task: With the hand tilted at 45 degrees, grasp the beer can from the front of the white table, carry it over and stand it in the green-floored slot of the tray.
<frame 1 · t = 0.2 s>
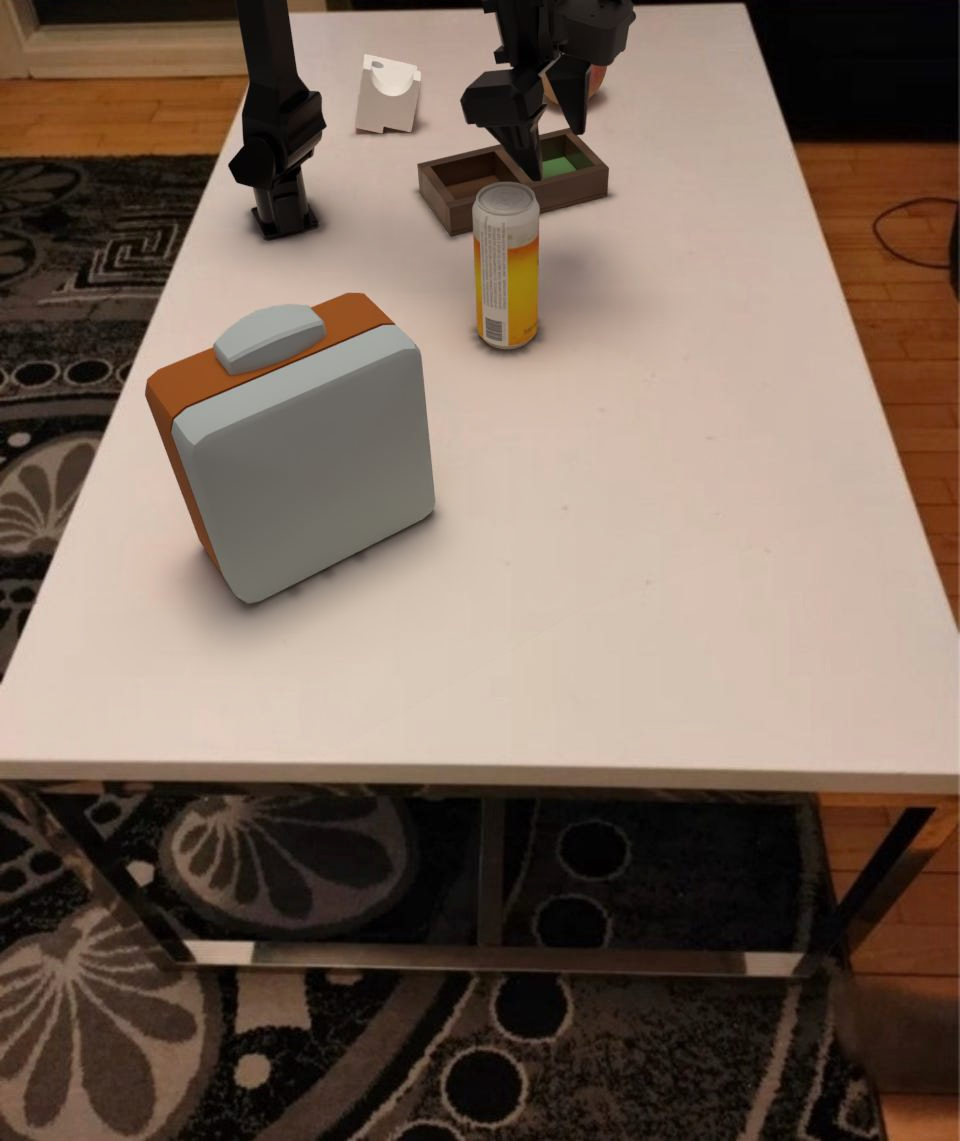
hand: (559, 156, 94), 15 cm above the table, tool pointing down, fingers open, 9 cm apart
beer can: (507, 335, 102), on the table
apple: (569, 101, 133), on the table
bracket: (392, 110, 133), on the table
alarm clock: (321, 531, 86), on the table
tray: (512, 193, 119), on the table
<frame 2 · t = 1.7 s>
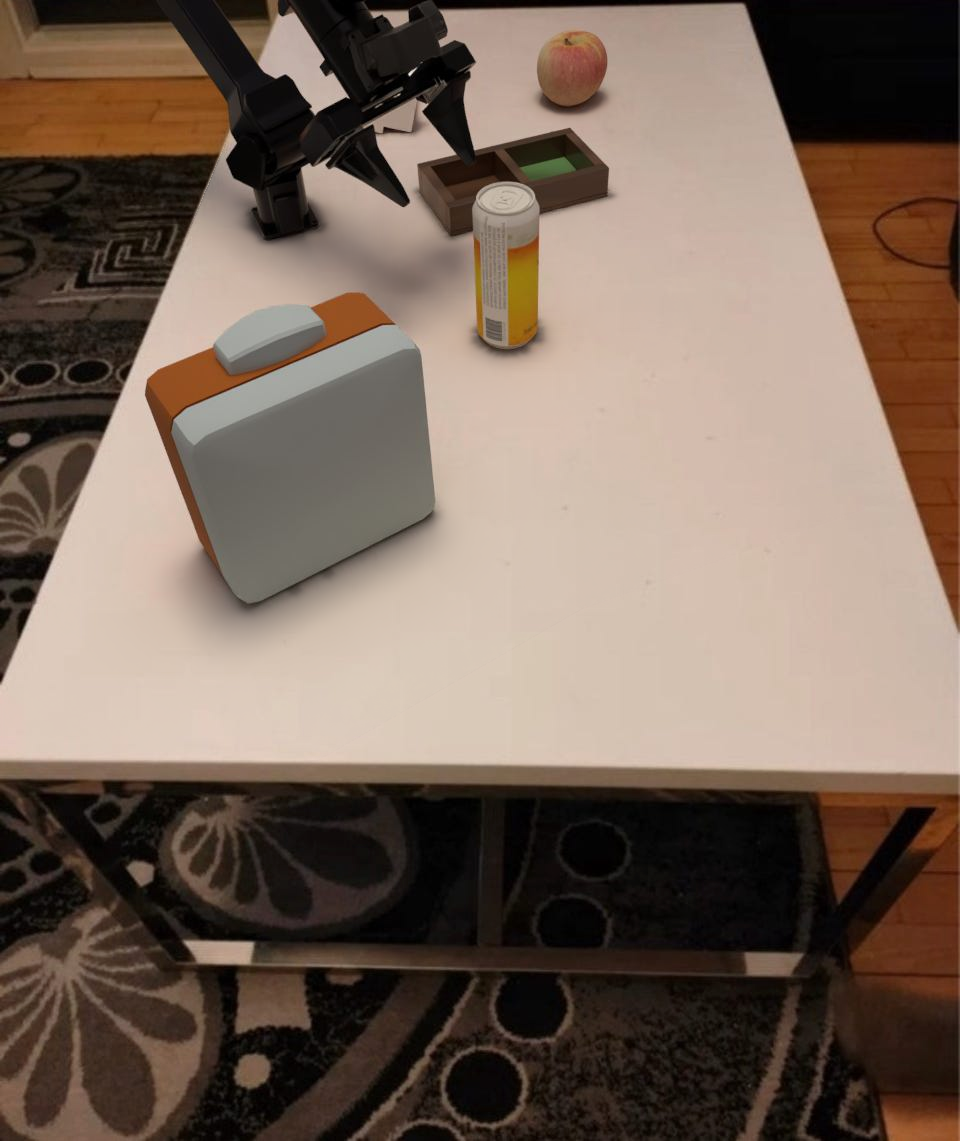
hand: (440, 184, 95), 13 cm above the table, tool tilted 45°, fingers open, 9 cm apart
nothing on the table moved.
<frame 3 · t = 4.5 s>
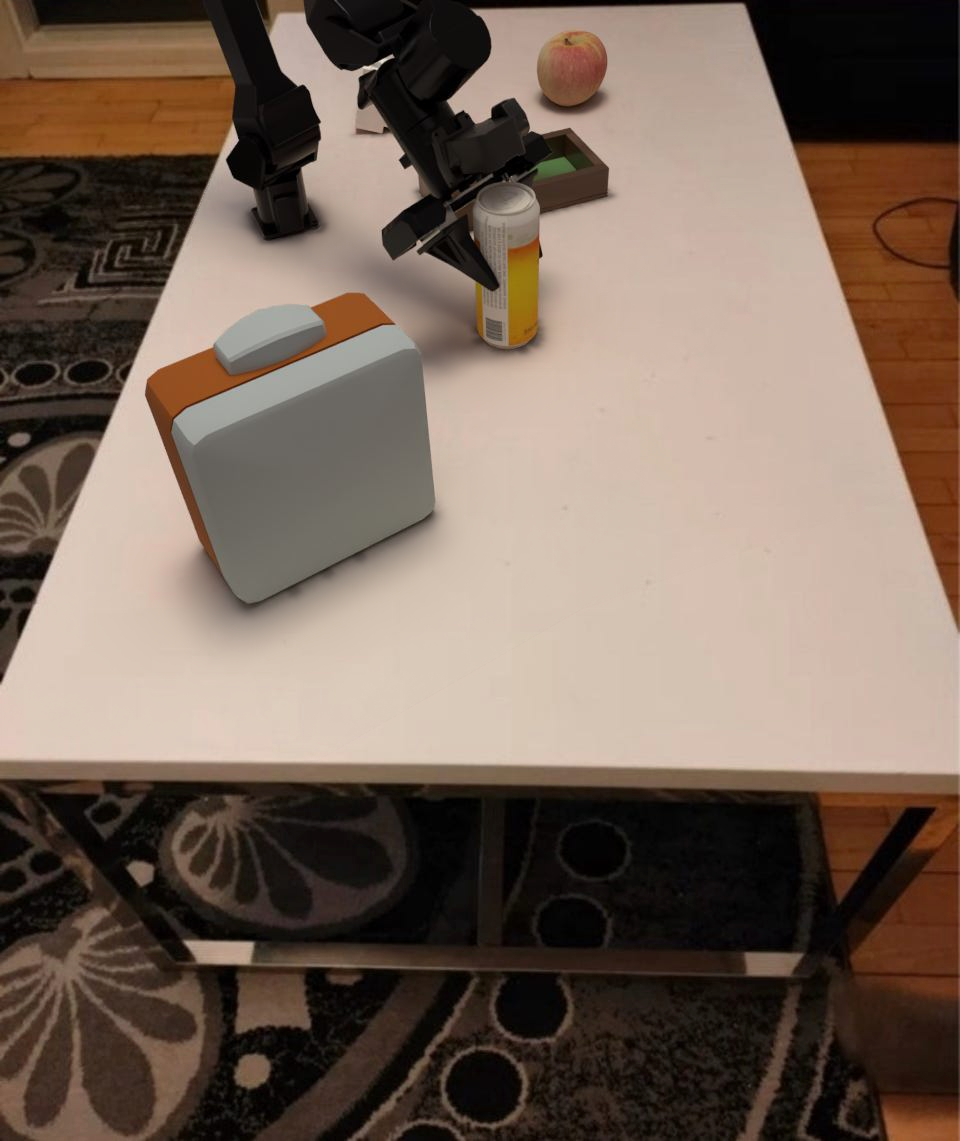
hand: (517, 274, 96), 8 cm above the table, tool tilted 45°, fingers closed on beer can, 6 cm apart
beer can: (507, 335, 102), on the table, touching gripper
everything else where it was.
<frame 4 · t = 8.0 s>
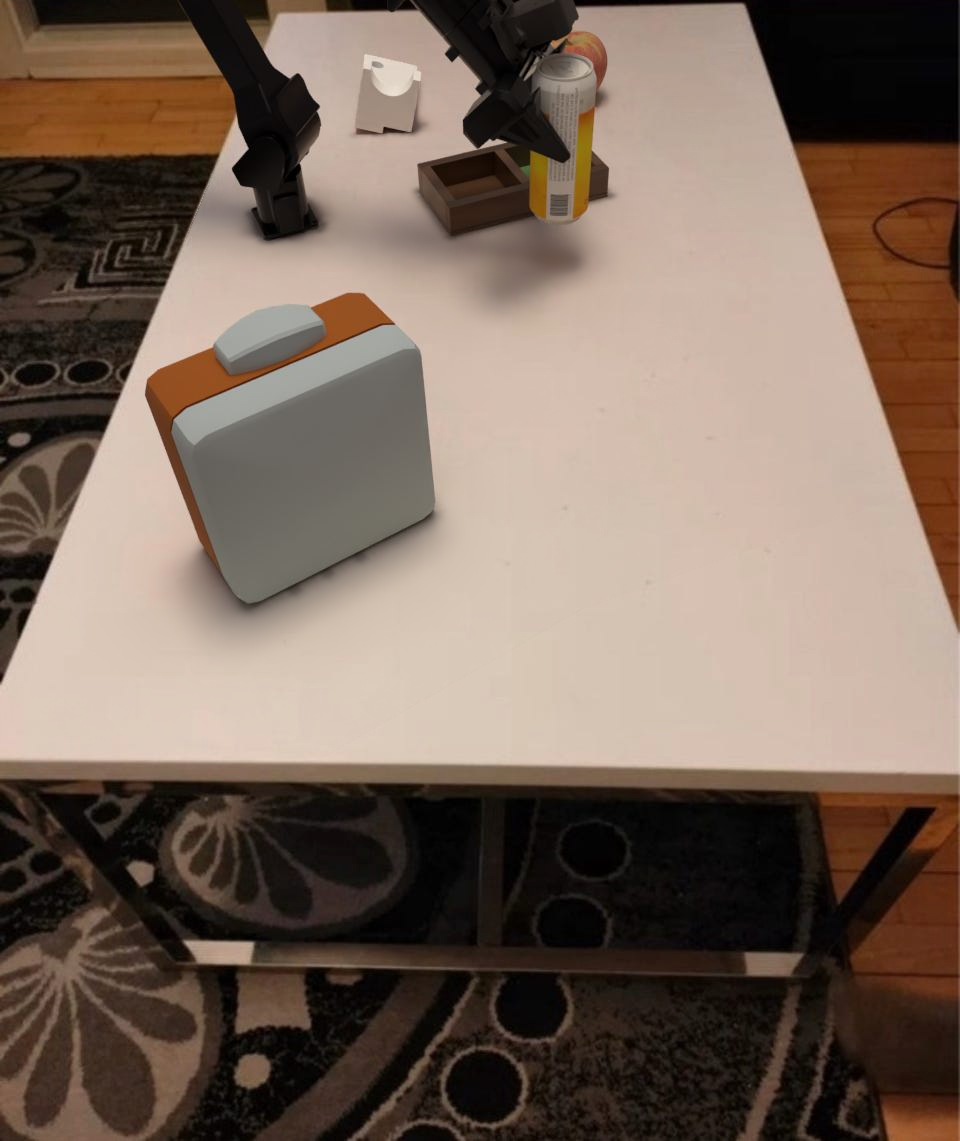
hand: (574, 144, 99), 13 cm above the table, tool tilted 45°, fingers closed on beer can, 6 cm apart
beer can: (558, 213, 106), point 5 cm above the table, touching gripper
everything else where it was.
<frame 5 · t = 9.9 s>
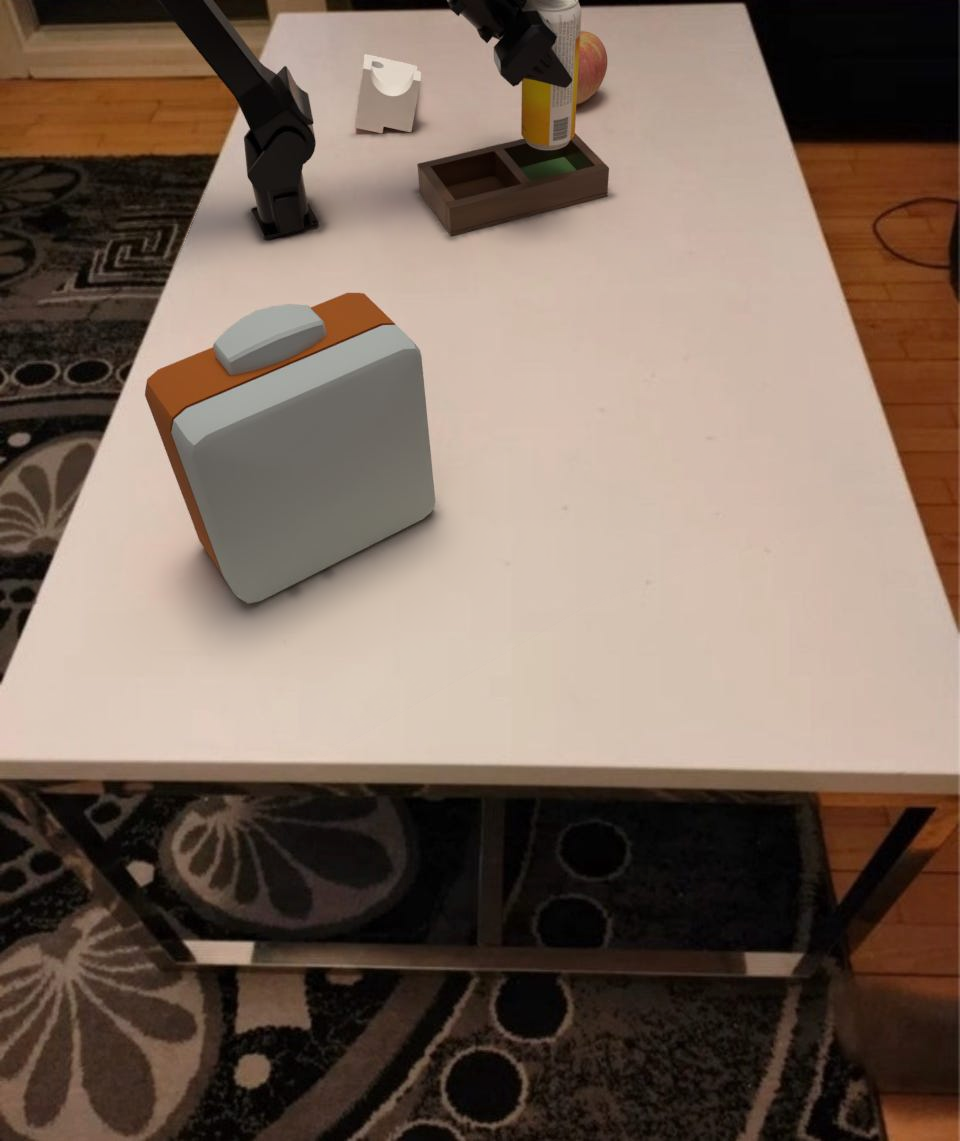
hand: (562, 70, 110), 13 cm above the table, tool tilted 45°, fingers closed on beer can, 6 cm apart
beer can: (547, 141, 116), point 5 cm above the table, touching gripper
everything else where it was.
when the fingers open (8 cm above the table, at t = 11.8 s): beer can stays where it is, resting on tray.
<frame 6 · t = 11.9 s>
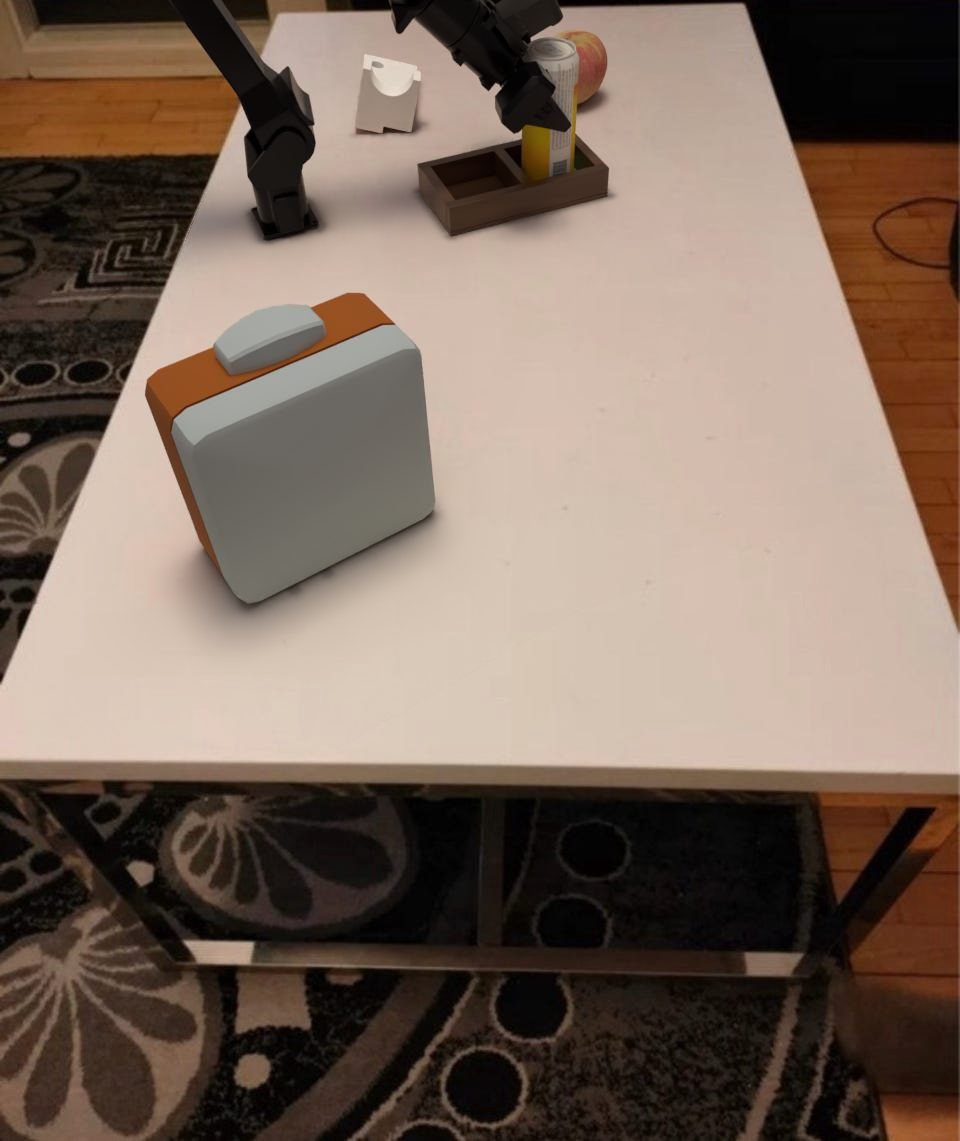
hand: (561, 114, 113), 8 cm above the table, tool tilted 45°, fingers open, 6 cm apart
beer can: (547, 180, 119), point 1 cm above the table, touching tray
everything else where it was.
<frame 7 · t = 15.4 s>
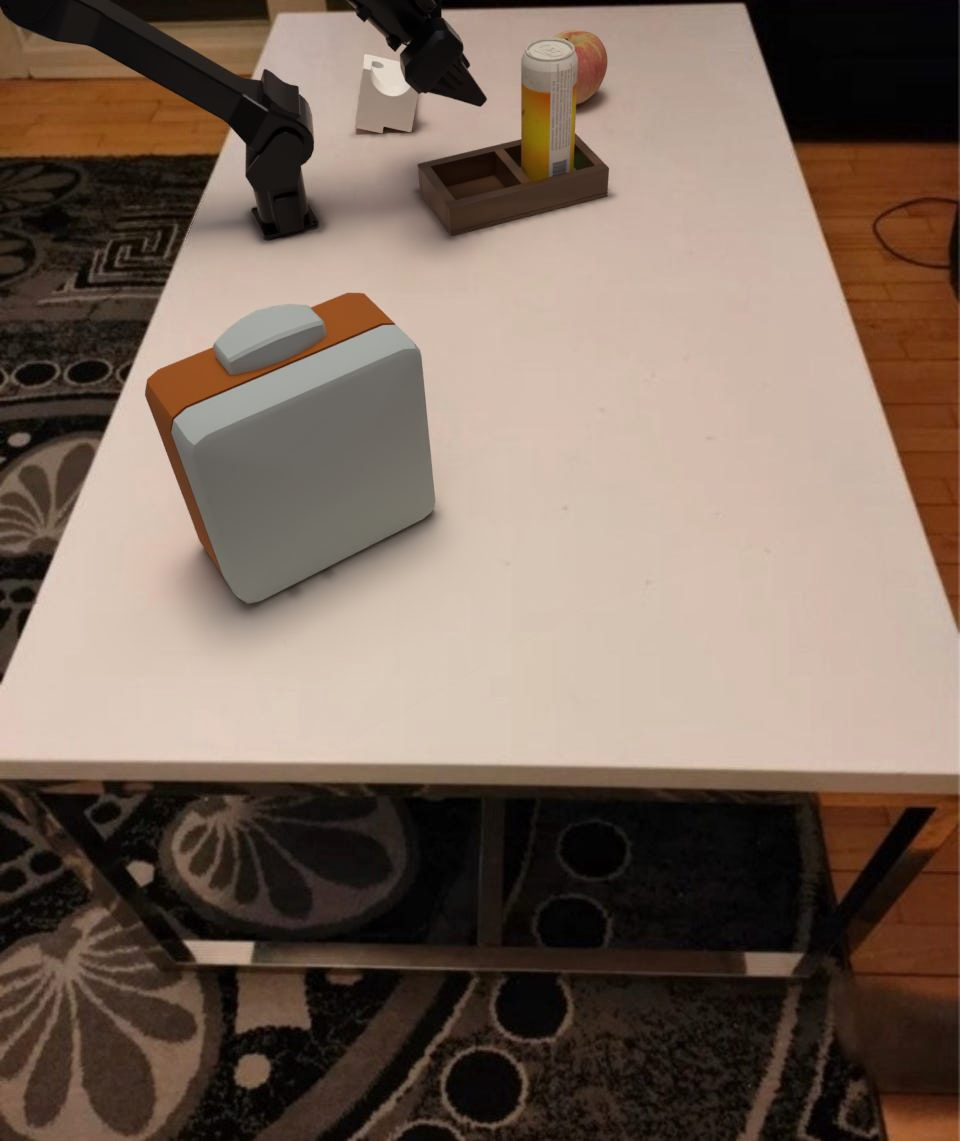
hand: (475, 85, 108), 13 cm above the table, tool tilted 40°, fingers open, 9 cm apart
nothing on the table moved.
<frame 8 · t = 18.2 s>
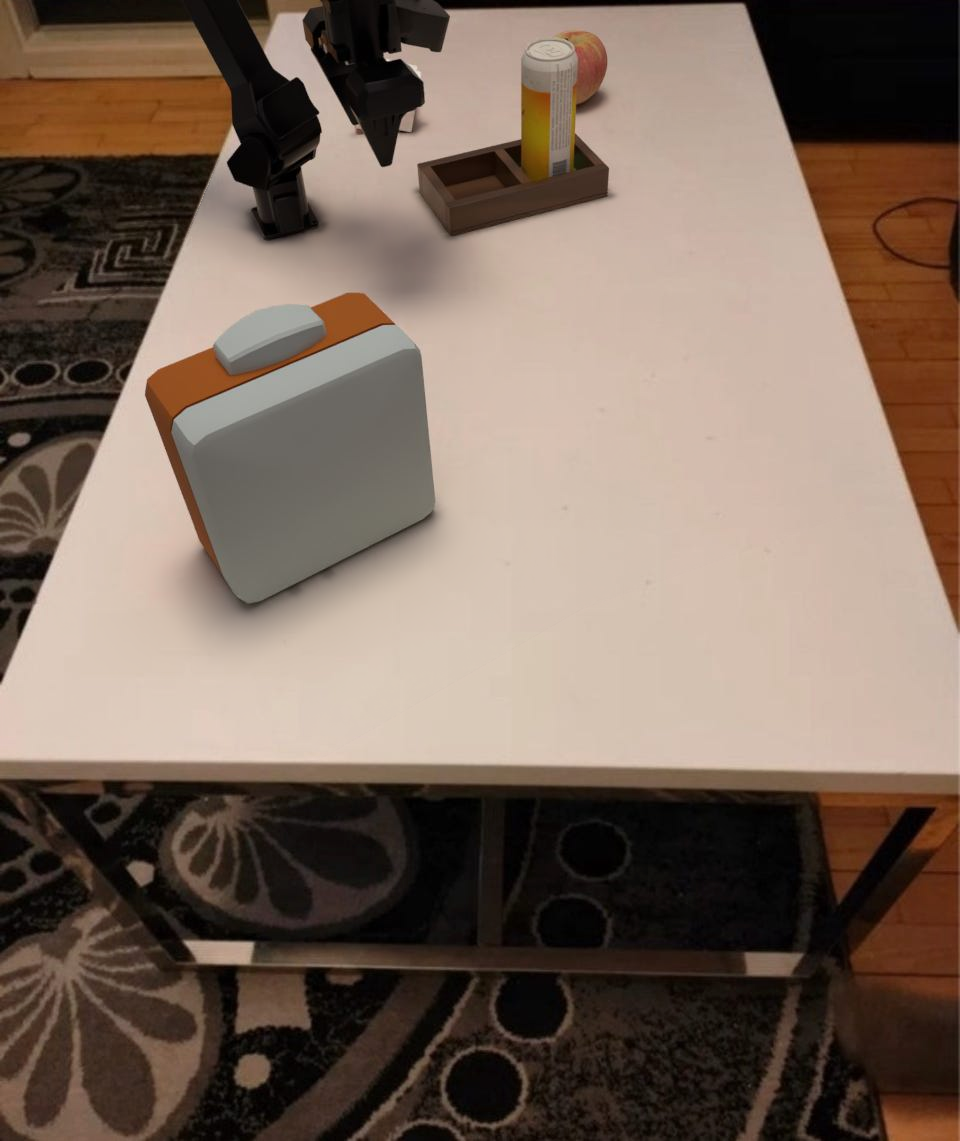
hand: (371, 144, 101), 13 cm above the table, tool pointing down, fingers open, 9 cm apart
nothing on the table moved.
at the end: beer can 0.2 cm from the target spot in the tray, point 0.5 cm above the tray's base; beer can tilted 0°; the gripper is holding nothing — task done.
